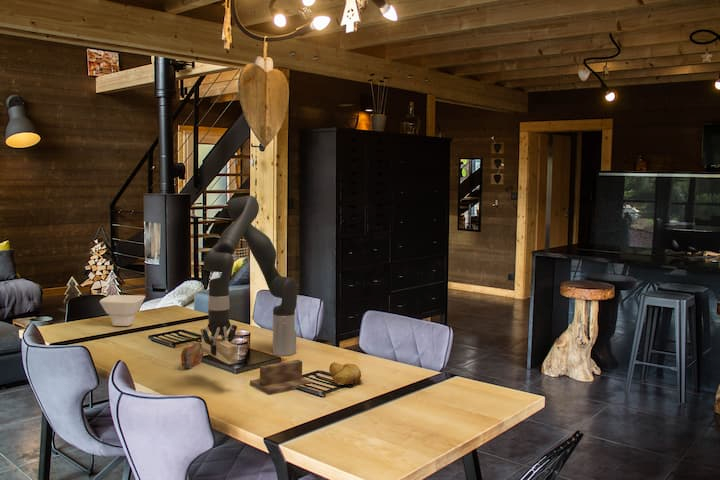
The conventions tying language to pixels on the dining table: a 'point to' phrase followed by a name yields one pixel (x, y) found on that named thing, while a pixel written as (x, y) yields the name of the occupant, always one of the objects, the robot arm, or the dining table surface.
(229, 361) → the oak bar
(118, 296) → the bowl
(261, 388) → the stand
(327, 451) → the dining table surface
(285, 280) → the robot arm
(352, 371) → the bread roll
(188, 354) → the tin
